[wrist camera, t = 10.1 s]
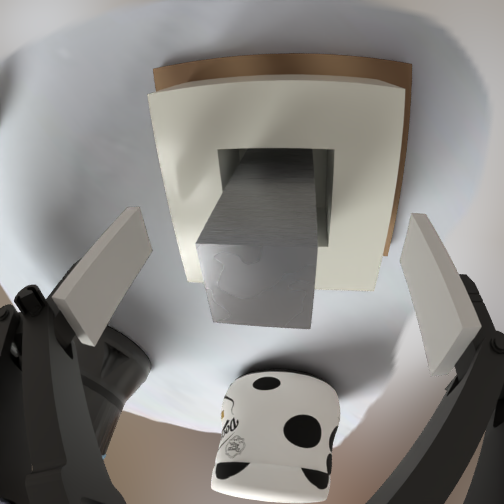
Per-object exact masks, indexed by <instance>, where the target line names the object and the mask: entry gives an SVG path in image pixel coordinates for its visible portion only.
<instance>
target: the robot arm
mask: <svg viewBox="0 0 504 504" xmlns="http://www.w3.org/2000/svg"><path fill="white" fill-rule="evenodd" d="M152 251H153V250H152V247H151V244H150V241H149V237H148V234H147V231H146V227H145V224H144V220H143V217H142V213H141V210H140V207H127V208H126V209H125V210H124V211H123V213H122V214H121V215H120V216H119V217H118V218H117V219H116V220H115V221H114V222H113V223H112V224H111V226H110V227H109V228H108V229H107V230H106V231H105V232H104V233H103V234H102V236H101V237H100V238H99V239H98V240H97V241H96V242H95V244H94V245H93V246H92V247H91V248H90V249H89V251H88V252H87V253H86V254H85V255H84V257H83V258H81V259H80V260H79V261H77V262H76V263H75V264H73V266H72V267H71V268H70V269H69V271H68V272H67V274H65V276H64V277H63V278H62V280H61V281H60V282H59V283H58V284H57V286H56V287H55V288H54V290H53V291H52V292H51V294H50V295H49V296H48V298H47V299H45V298H44V296H43V294H42V293H41V291H40V289H39V288H38V286H36V285H29V286H26V287H25V288H23V289H22V290H21V291H20V292H18V294H17V295H16V297H15V299H14V302H15V304H16V305H17V307H18V308H19V310H20V311H21V312H17V311H16V309H15V308H14V306H13V305H11V304H10V305H5V306H3V307H2V308H0V504H126V502H125V500H124V498H123V497H122V495H121V494H120V493H119V491H118V490H117V489H116V488H115V487H114V486H113V484H112V482H111V480H110V478H109V475H108V472H107V470H106V467H105V464H104V461H103V459H104V458H105V457H106V451H107V449H108V446H109V443H110V441H111V438H112V435H113V432H114V429H115V427H116V424H117V422H118V419H119V417H120V414H121V412H122V409H123V407H124V405H125V403H126V401H127V400H128V399H129V398H130V397H131V396H132V395H133V394H134V393H135V391H136V390H137V389H138V388H139V387H140V386H141V384H142V383H144V382H145V380H146V379H147V377H148V374H149V372H150V369H151V364H150V361H149V359H148V357H147V356H146V355H145V353H144V352H143V351H142V350H141V349H140V348H139V347H138V346H137V345H136V344H134V343H133V342H132V341H131V340H129V339H128V338H127V337H125V336H124V335H122V334H120V333H119V332H117V331H115V330H113V329H112V328H109V327H107V324H108V322H109V321H110V319H111V317H112V315H113V314H114V312H115V310H116V309H117V307H118V305H119V304H120V302H121V300H122V299H123V297H124V295H125V294H126V292H127V290H128V289H129V287H130V286H131V284H132V282H133V281H134V279H135V278H136V276H137V274H138V273H139V271H140V270H141V268H142V267H143V265H144V263H145V262H146V260H147V259H148V257H149V256H150V254H151V253H152ZM400 263H401V266H402V269H403V273H404V276H405V279H406V282H407V285H408V288H409V292H410V295H411V298H412V302H413V305H414V309H415V312H416V316H417V320H418V323H419V327H420V331H421V335H422V339H423V343H424V347H425V352H426V357H427V361H428V366H429V371H430V376H442V375H448V374H449V373H450V371H451V370H452V369H453V367H454V366H455V368H456V373H457V375H456V376H455V378H454V379H453V380H452V381H451V382H450V384H449V385H448V386H447V387H446V388H445V390H447V392H446V394H445V395H444V397H443V399H442V401H441V403H440V404H439V406H438V408H437V409H436V411H435V413H434V414H433V416H432V417H431V419H430V421H429V422H428V424H427V425H426V427H425V428H424V430H423V431H422V433H421V435H420V436H419V438H418V439H417V440H416V442H415V443H414V445H413V446H412V448H411V449H410V450H409V452H408V453H407V455H406V456H405V457H404V458H403V460H402V461H401V462H400V464H399V465H398V466H397V468H396V469H395V470H394V471H393V473H392V474H391V475H390V476H389V478H388V479H387V480H386V481H385V482H384V484H383V485H382V486H381V487H380V488H379V490H377V492H376V493H375V494H374V495H373V496H372V497H371V499H370V500H368V502H367V503H366V504H444V503H445V501H446V500H447V498H448V497H449V495H450V494H451V492H452V491H453V489H454V487H455V486H456V484H457V483H458V481H459V479H460V478H461V476H462V474H463V473H464V471H465V469H466V467H467V466H468V464H469V462H470V460H471V458H472V456H473V454H474V452H475V450H476V448H477V446H478V444H479V442H480V440H481V438H482V436H483V434H484V432H485V430H486V432H485V437H484V440H483V445H482V449H481V453H480V456H479V459H478V463H477V466H476V469H475V472H474V476H473V479H472V482H471V485H470V487H469V490H468V493H467V495H466V498H465V501H464V503H463V504H504V334H503V333H501V332H499V331H496V330H495V328H494V325H493V323H492V320H491V318H490V315H489V313H488V311H487V309H486V306H485V304H484V303H483V300H482V298H481V296H480V295H479V291H478V289H477V287H476V285H475V283H474V282H473V281H472V280H471V279H470V278H469V277H468V276H467V275H464V274H458V272H457V270H456V268H455V266H454V264H453V262H452V260H451V258H450V256H449V254H448V252H447V250H446V248H445V247H444V245H443V243H442V241H441V239H440V238H439V236H438V234H437V232H436V231H435V229H434V227H433V225H432V224H431V222H430V220H429V219H428V217H427V215H426V214H418V213H411V217H410V221H409V226H408V230H407V234H406V238H405V242H404V246H403V250H402V254H401V258H400ZM32 468H33V470H32Z"/></svg>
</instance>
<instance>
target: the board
mask: <svg viewBox="0 0 504 504" xmlns="http://www.w3.org/2000/svg"><path fill="white" fill-rule="evenodd" d="M153 74H154V81H155V88H156V91H159V90H162V89H165V88H169V87H172V86H175V85H179V84H182V83H186V82H192V81H199V80H207V79H216V78H226V77H238V76H254V75H282V74H304V75H333V76H348V77H360V78H370V79H378V80H381V81H384V82H387V83H390V84H393V85H396V86H398V87H401V88H404V89H405V107H404V121H403V133H402V143H401V152H400V160H399V168H398V176H397V182H396V189H395V195H394V201H393V207H392V213H391V218H390V223H389V228H388V233H387V238H386V243H385V248H384V252H383V256H388V252H389V247H390V243H391V238H392V234H393V229H394V224H395V219H396V214H397V209H398V204H399V198H400V192H401V186H402V179H403V173H404V166H405V158H406V150H407V141H408V131H409V120H410V106H411V87H412V64H409V63H403V62H397V61H391V60H384V59H376V58H368V57H359V56H347V55H333V54H303V53H289V54H259V55H244V56H232V57H222V58H214V59H206V60H199V61H192V62H186V63H180V64H175V65H169V66H164V67H159V68H155V69H153Z"/></svg>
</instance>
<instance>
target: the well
mask: <svg viewBox="0 0 504 504" xmlns="http://www.w3.org/2000/svg"><path fill="white" fill-rule="evenodd" d="M147 96H148V103H149V109H150V115H151V121H152V127H153V132H154V138H155V143H156V148H157V153H158V159H159V164H160V169H161V173H162V178H163V183H164V188H165V192H166V197H167V201H168V206H169V210H170V214H171V218H172V223H173V227H174V231H175V235H176V239H177V243H178V247H179V251H180V255H181V259H182V263H183V266H184V270H185V274H186V277H187V281H188V282H195V283H204V281H203V277H202V272H201V268H200V264H199V259H198V255H197V250H196V245H195V243H196V241H197V239H198V237H199V235H200V233H201V232H202V230H203V228H204V226H205V224H206V222H207V220H208V218H209V217H210V215H211V213H212V211H213V209H214V207H215V206H216V204H217V202H218V200H219V198H220V196H221V195H222V193H223V191H224V189H225V187H226V186H227V184H228V182H229V180H230V178H231V177H232V175H233V173H234V171H235V170H236V168H237V166H238V164H239V163H240V161H241V159H242V157H243V156H244V154H245V152H246V151H247V149H248V148H311V149H312V151H313V164H314V178H315V194H316V212H317V236H318V253H317V266H316V278H315V289H318V290H346V291H374V289H375V285H376V281H377V277H378V273H379V269H380V265H381V261H382V256H383V252H384V248H385V243H386V238H387V233H388V228H389V223H390V218H391V213H392V207H393V201H394V195H395V189H396V182H397V176H398V168H399V160H400V152H401V143H402V133H403V121H404V107H405V89H404V88H401V87H398V86H396V85H393V84H390V83H387V82H384V81H381V80H378V79H370V78H360V77H348V76H333V75H304V74H282V75H254V76H238V77H226V78H216V79H207V80H199V81H192V82H186V83H182V84H179V85H175V86H172V87H169V88H165V89H162V90H159V91H156V92H153V93H150V94H147Z"/></svg>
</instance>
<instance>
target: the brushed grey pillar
mask: <svg viewBox="0 0 504 504" xmlns="http://www.w3.org/2000/svg"><path fill="white" fill-rule="evenodd" d="M195 245H196V250H197V255H198V259H199V264H200V268H201V272H202V277H203V281H204V285H205V290H206V294H207V298H208V302H209V306H210V310H211V315H212V319H213V322H217V323H228V324H239V325H251V326H264V327H280V328H297V329H310V327H311V318H312V309H313V299H314V289H315V278H316V266H317V253H318V236H317V212H316V194H315V178H314V164H313V151H312V149H311V148H248V149H247V151H246V152H245V154H244V156H243V157H242V159H241V161H240V163H239V164H238V166H237V168H236V170H235V171H234V173H233V175H232V177H231V178H230V180H229V182H228V184H227V186H226V187H225V189H224V191H223V193H222V195H221V196H220V198H219V200H218V202H217V204H216V206H215V207H214V209H213V211H212V213H211V215H210V217H209V218H208V220H207V222H206V224H205V226H204V228H203V230H202V232H201V233H200V235H199V237H198V239H197V241H196V243H195Z"/></svg>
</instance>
